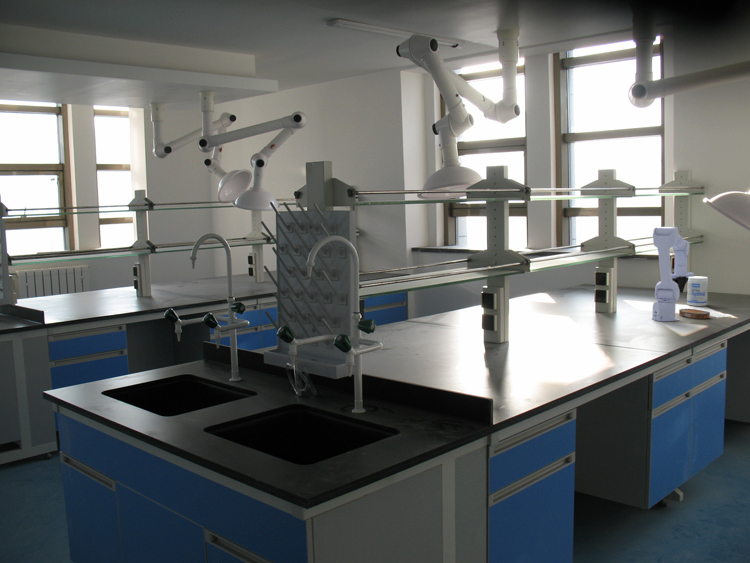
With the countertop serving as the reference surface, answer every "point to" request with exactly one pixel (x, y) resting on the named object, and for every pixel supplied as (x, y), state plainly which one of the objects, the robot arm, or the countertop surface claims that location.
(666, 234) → the robot arm
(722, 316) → the mat
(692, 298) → the supplement tub
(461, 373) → the countertop surface
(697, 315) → the tin
